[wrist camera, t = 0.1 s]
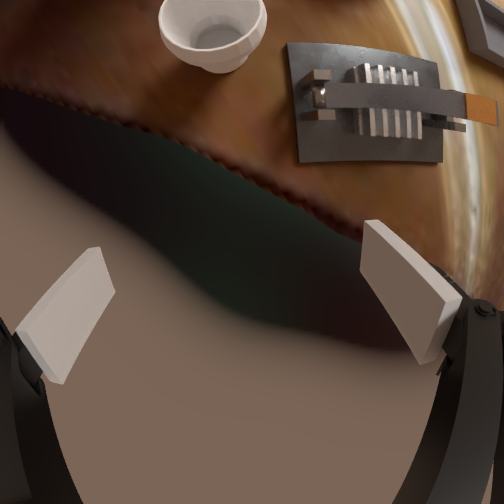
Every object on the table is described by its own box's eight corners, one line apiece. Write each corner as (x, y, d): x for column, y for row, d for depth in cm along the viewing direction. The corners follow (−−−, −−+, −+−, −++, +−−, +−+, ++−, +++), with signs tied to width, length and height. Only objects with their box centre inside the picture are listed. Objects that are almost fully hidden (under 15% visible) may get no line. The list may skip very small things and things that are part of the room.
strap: (315, 108, 29) (311, 107, 28) (313, 85, 28) (308, 83, 26) (494, 126, 18) (500, 126, 17) (493, 101, 17) (498, 100, 16)
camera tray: (451, -6, 21) (469, -13, 15) (507, 27, 20) (524, 26, 14) (467, 51, 27) (488, 48, 21) (518, 78, 26) (536, 80, 21)
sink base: (298, 161, 38) (313, 172, 29) (285, 44, 30) (297, 23, 21) (438, 161, 37) (472, 173, 29) (432, 63, 29) (466, 58, 21)
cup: (261, 81, 32) (271, 54, 19) (184, 86, 32) (151, 65, 19) (258, 18, 28) (266, -32, 14) (184, 24, 27) (155, -21, 14)
